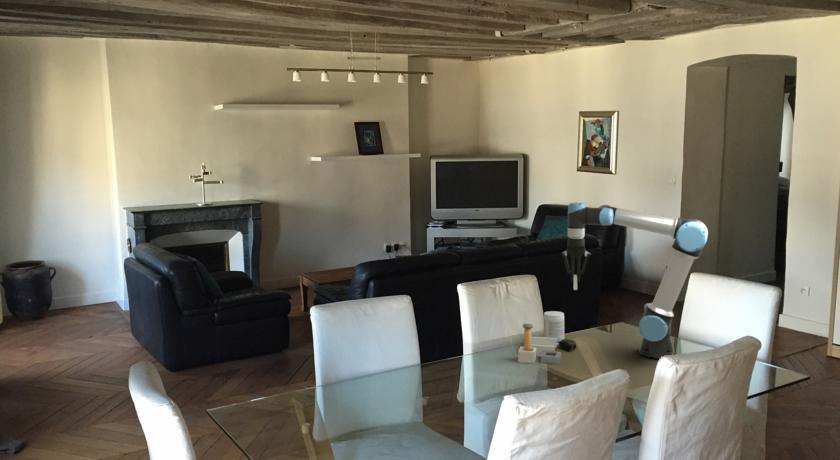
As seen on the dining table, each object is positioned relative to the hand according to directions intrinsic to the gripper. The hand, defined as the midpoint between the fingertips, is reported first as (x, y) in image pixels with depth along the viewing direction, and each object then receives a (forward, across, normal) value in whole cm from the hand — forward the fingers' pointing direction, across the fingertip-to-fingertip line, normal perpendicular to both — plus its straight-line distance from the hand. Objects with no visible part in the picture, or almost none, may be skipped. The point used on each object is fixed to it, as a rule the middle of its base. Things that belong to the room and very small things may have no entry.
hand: (575, 289), depth 325 cm
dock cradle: (+28, +14, +6) cm, 32 cm away
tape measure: (+28, +6, +1) cm, 29 cm away
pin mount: (+28, +9, +18) cm, 35 cm away
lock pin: (+28, +19, +20) cm, 40 cm away
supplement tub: (+29, +10, -9) cm, 32 cm away
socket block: (+28, +19, +20) cm, 40 cm away
